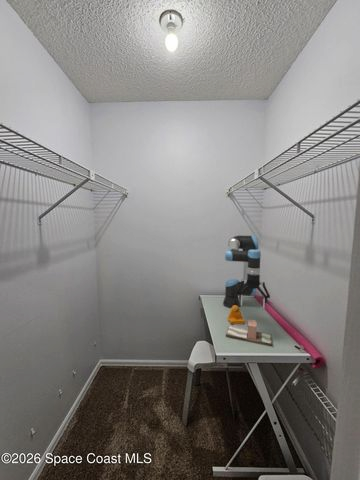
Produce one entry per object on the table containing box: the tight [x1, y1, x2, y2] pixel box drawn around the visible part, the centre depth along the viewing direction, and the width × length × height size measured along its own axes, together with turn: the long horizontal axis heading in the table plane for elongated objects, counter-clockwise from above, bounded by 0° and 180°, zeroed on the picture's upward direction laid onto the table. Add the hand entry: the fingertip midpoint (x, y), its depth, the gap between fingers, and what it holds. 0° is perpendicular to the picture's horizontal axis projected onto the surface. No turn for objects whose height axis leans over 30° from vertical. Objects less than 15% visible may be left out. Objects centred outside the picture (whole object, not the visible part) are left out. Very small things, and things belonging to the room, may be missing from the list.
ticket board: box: [225, 326, 274, 347], centre depth 134 cm, size 12×28×2 cm, turn 68°
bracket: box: [227, 305, 246, 326], centre depth 154 cm, size 11×7×12 cm, turn 94°
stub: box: [247, 319, 258, 339], centre depth 133 cm, size 9×5×8 cm, turn 158°
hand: (252, 306), depth 132 cm, fingers open, 13 cm apart
